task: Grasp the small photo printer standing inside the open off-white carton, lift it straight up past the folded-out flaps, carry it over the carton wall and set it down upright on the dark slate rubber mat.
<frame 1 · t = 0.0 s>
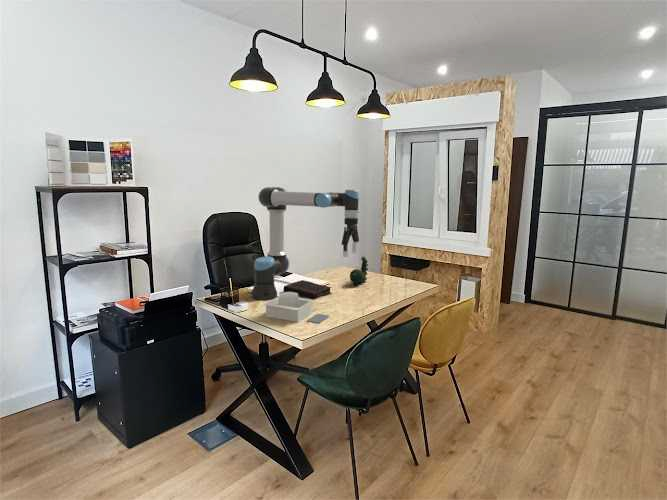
hand: (350, 254, 225), 28 cm above the table, tool pointing down, fingers open, 13 cm apart
mat: (318, 318, 201), on the table
toy figurine: (358, 283, 273), on the table
carton: (288, 315, 205), on the table
photo printer: (288, 315, 205), resting in carton
diary: (308, 293, 248), on the table
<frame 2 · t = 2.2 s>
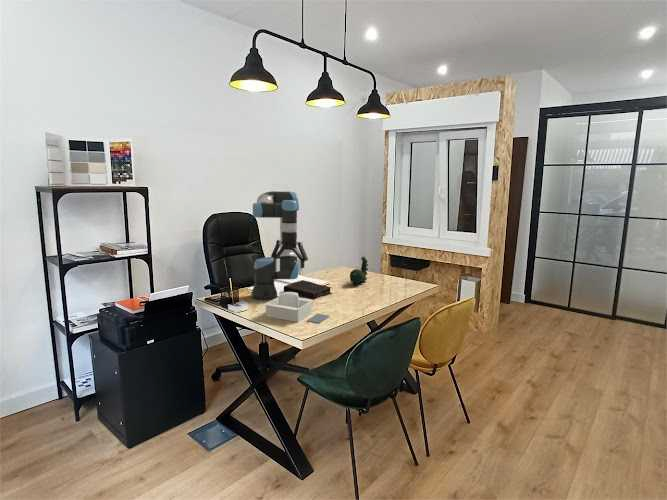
hand: (289, 272, 202), 22 cm above the table, tool pointing down, fingers open, 13 cm apart
nothing on the table moved.
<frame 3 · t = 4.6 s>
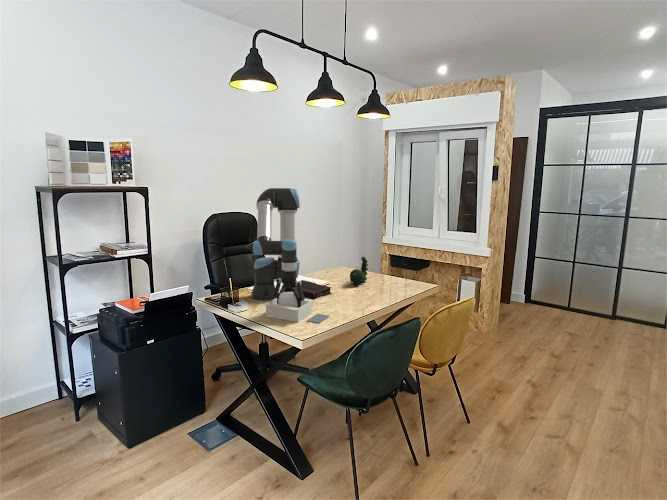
hand: (288, 311, 205), 2 cm above the table, tool pointing down, fingers closed on photo printer, 10 cm apart
photo printer: (288, 315, 205), resting in carton, touching gripper
everything else where it was.
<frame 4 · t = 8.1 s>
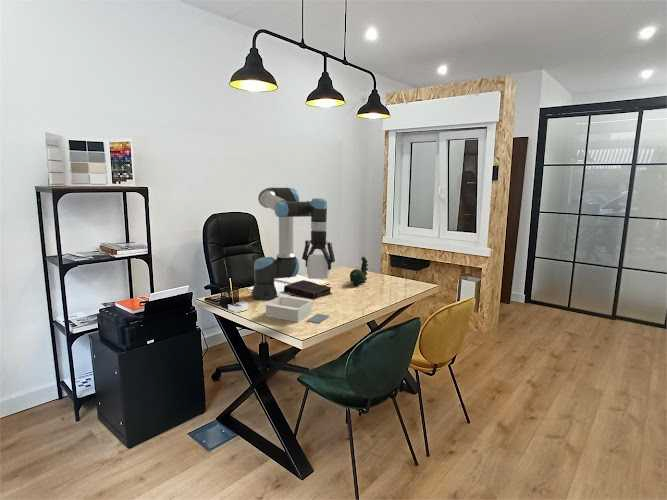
hand: (318, 274, 197), 23 cm above the table, tool pointing down, fingers closed on photo printer, 10 cm apart
photo printer: (318, 278, 197), point 21 cm above the table, touching gripper
everything else where it was.
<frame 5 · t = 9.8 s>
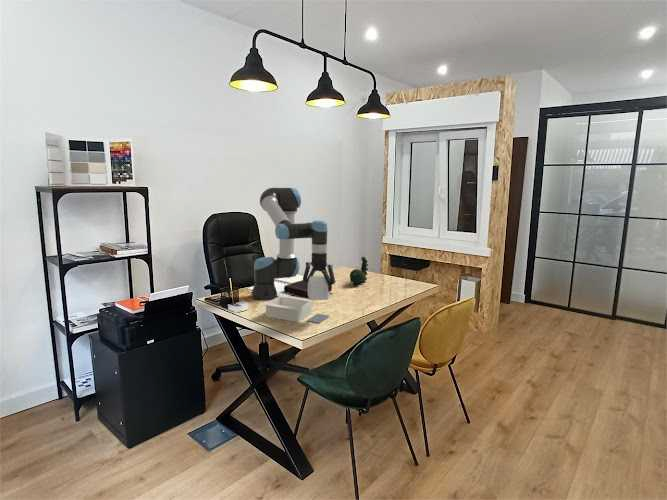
hand: (318, 296, 199), 12 cm above the table, tool pointing down, fingers closed on photo printer, 10 cm apart
photo printer: (318, 299, 199), point 10 cm above the table, touching gripper
everything else where it was.
when the fingers open (4 cm above the table, at t = 11.6 s): photo printer drops 2 cm, resting on mat.
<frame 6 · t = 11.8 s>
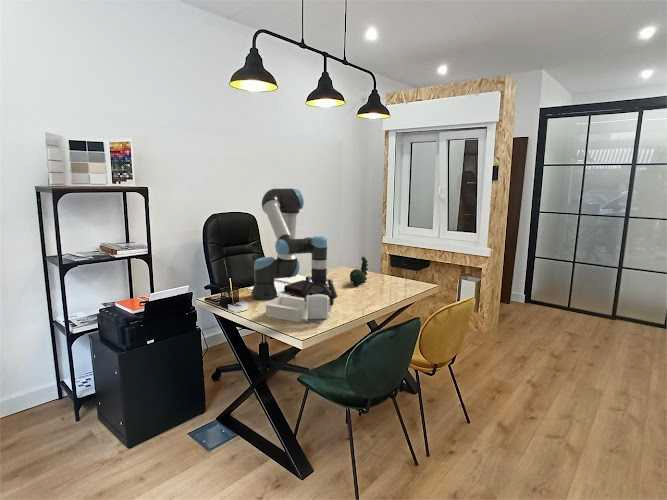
hand: (318, 309, 200), 5 cm above the table, tool pointing down, fingers open, 12 cm apart
photo printer: (317, 318, 201), resting on mat
everything else where it was.
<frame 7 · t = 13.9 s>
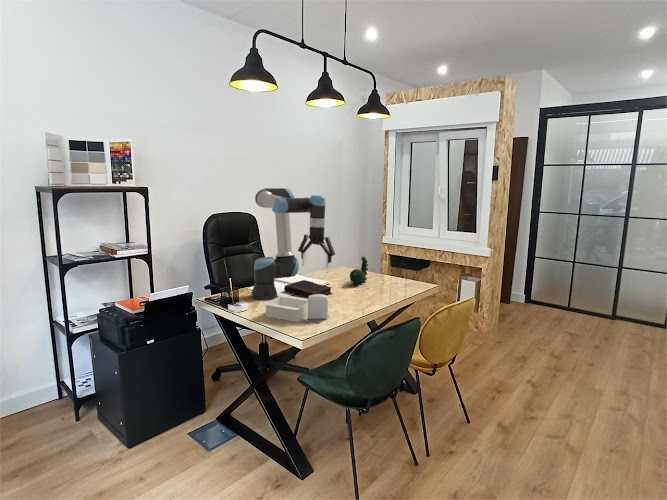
hand: (315, 267, 204), 25 cm above the table, tool pointing down, fingers open, 13 cm apart
nothing on the table moved.
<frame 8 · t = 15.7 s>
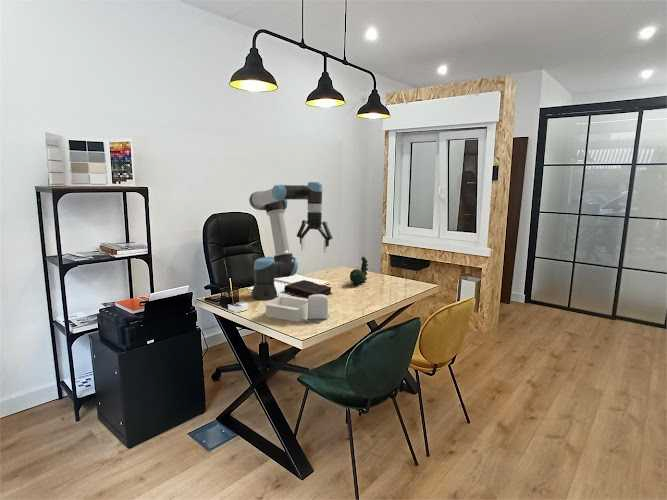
hand: (314, 251, 212), 32 cm above the table, tool pointing down, fingers open, 13 cm apart
nothing on the table moved.
at the end: photo printer inside the target area on the mat (0.3 cm from its centre), point 0.2 cm above the mat's base; photo printer tilted 0°; the gripper is holding nothing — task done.
